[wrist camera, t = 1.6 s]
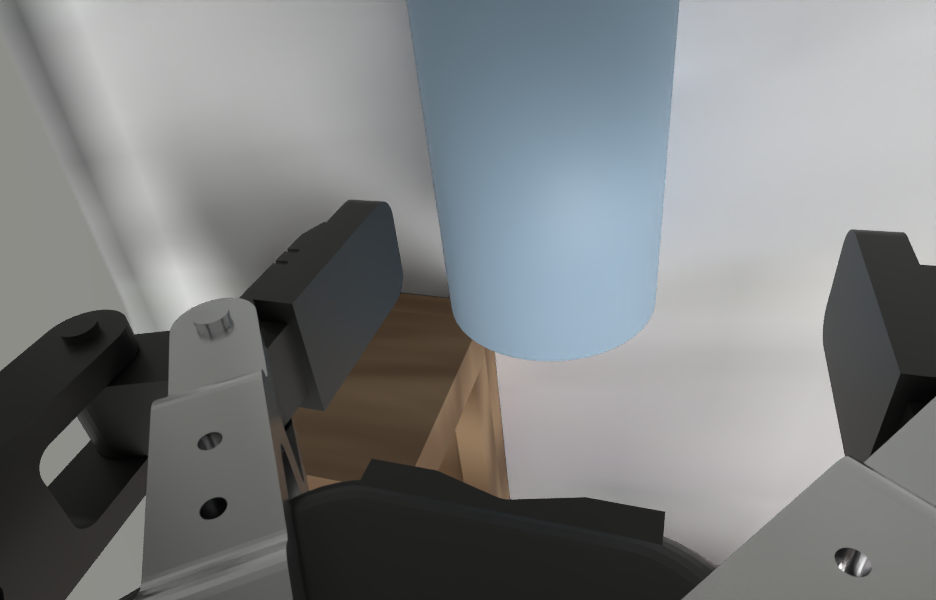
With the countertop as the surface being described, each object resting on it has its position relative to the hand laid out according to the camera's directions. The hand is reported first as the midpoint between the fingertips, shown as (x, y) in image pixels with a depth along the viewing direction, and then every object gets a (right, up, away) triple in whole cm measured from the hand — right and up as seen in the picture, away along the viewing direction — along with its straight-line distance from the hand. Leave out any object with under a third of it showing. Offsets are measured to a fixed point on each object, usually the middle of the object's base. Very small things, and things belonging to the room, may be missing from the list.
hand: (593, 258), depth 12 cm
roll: (0, +3, +3) cm, 5 cm away
